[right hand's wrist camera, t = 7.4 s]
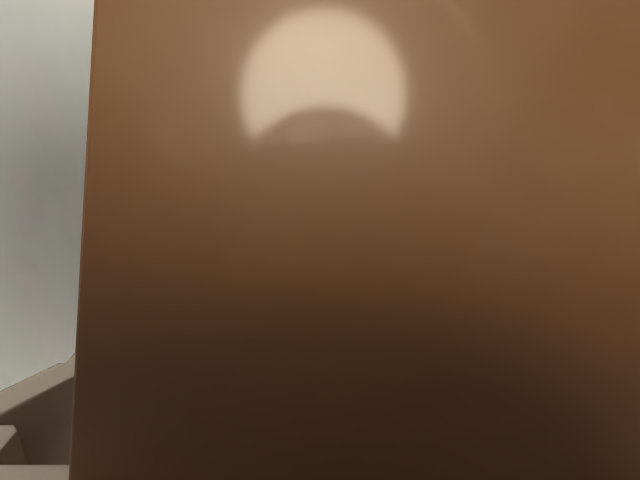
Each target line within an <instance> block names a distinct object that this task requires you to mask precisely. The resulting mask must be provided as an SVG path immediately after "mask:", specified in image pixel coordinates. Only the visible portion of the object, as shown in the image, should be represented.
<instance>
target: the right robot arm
mask: <svg viewBox="0 0 640 480" xmlns="http://www.w3.org/2000/svg"><path fill="white" fill-rule="evenodd" d="M74 370H75V353H74V355H73V356H72V357H71V358H70V359H69V360H68V361H67V363H66V364H56V365H54V366H52V367H50V368H48V369H46V370H44V371H42V372H40V373H38V374H35V375H33V376H31V377H29V378H27V379H25V380H23V381H21V382H19V383H16V384H14V385H12V386H10V387H8V388H6V389H4V390H2V391H0V480H69V462H70V444H71V425H72V407H73V388H74Z"/></svg>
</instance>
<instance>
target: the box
mask: <svg viewBox="0 0 640 480" xmlns="http://www.w3.org/2000/svg"><path fill="white" fill-rule="evenodd" d="M69 480H640V0H94V18H93V37H92V55H91V74H90V92H89V111H88V129H87V148H86V166H85V185H84V203H83V222H82V240H81V259H80V277H79V296H78V314H77V333H76V351H75V370H74V388H73V407H72V425H71V444H70V462H69Z"/></svg>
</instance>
